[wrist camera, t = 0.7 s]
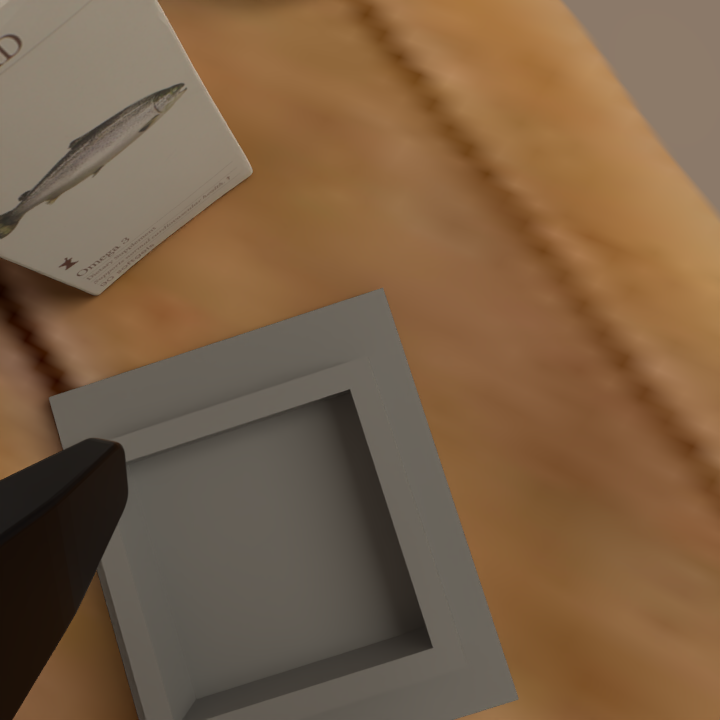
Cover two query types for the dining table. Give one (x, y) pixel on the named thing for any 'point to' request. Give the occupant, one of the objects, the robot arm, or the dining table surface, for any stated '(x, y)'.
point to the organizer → (289, 532)
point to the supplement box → (102, 138)
